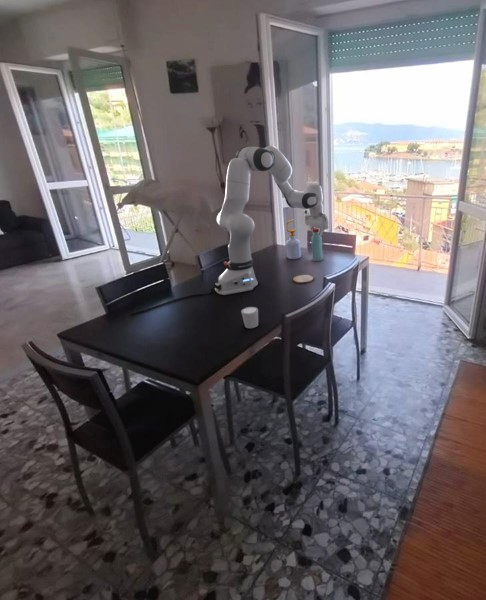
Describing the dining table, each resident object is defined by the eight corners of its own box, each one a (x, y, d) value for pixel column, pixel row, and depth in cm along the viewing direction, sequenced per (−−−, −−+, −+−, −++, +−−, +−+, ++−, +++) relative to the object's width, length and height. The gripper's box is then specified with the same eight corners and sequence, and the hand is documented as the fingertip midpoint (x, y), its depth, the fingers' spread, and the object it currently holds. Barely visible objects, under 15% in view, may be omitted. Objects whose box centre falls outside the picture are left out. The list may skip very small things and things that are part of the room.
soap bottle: (300, 259, 228) (297, 221, 218) (286, 259, 228) (282, 221, 218) (301, 254, 236) (299, 217, 226) (288, 255, 237) (285, 218, 226)
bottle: (315, 261, 222) (314, 231, 214) (310, 259, 227) (308, 229, 219) (324, 259, 225) (323, 229, 217) (319, 257, 230) (317, 227, 222)
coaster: (299, 285, 188) (299, 283, 188) (289, 279, 197) (289, 277, 196) (317, 280, 194) (317, 278, 194) (307, 274, 202) (307, 273, 202)
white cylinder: (253, 319, 154) (250, 305, 151) (263, 324, 150) (261, 309, 147) (240, 325, 149) (237, 311, 146) (250, 330, 145) (248, 315, 142)
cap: (320, 231, 218) (320, 228, 218) (315, 232, 216) (315, 229, 215) (316, 230, 221) (316, 227, 221) (311, 231, 219) (311, 228, 218)
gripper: (330, 213, 208) (331, 236, 214) (310, 208, 223) (311, 230, 229) (322, 215, 205) (323, 238, 211) (302, 210, 219) (303, 232, 225)
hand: (317, 234), depth 220 cm, fingers open, 6 cm apart
